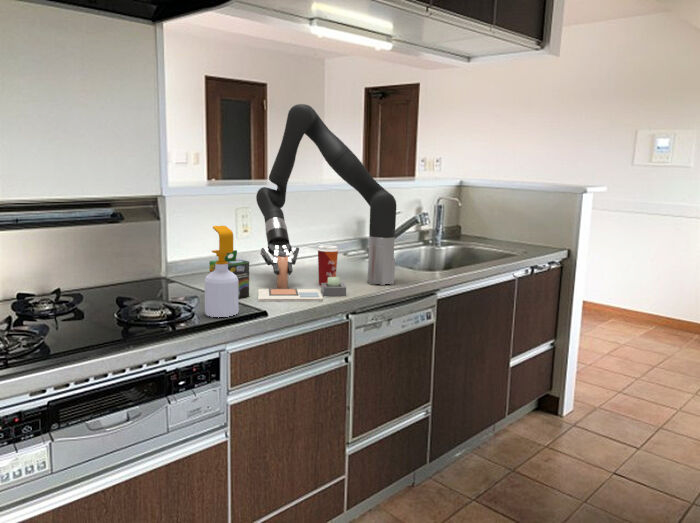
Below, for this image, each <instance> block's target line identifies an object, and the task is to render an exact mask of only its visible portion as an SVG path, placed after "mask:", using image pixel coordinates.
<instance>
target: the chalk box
mask: <svg viewBox="0 0 700 523" xmlns="http://www.w3.org/2000/svg"><path fill="white" fill-rule="evenodd" d="M229 255H232V257H229ZM237 255H238V250H236V249H235V250H234V249H233V252H232V253H227V256H225V261H228V270H229V271H231V272H232V273H234V274H235V275H236V276H237V278H238V299H243V298H248V297H250V261H249V260H243V259H239V258H237ZM216 261H218V259H214V260H210V261H209V274H210V273H211V272H213V271H214V270H215V262H216Z"/></svg>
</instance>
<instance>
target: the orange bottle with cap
mask: <svg viewBox="0 0 700 523" xmlns="http://www.w3.org/2000/svg"><path fill="white" fill-rule="evenodd" d="M277 263H278V268H279V275H276V289H289V286H288V285H289V284H288V282H289V280H288V279H289V275H288V256H286V252H285V251H280V252H279V256H277Z"/></svg>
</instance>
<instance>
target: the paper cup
mask: <svg viewBox="0 0 700 523" xmlns="http://www.w3.org/2000/svg"><path fill="white" fill-rule="evenodd" d="M316 250H317V261H318V262H317V265H318V285H321V283H328V277H337V266H338V254H339V251H340V250H339V247H338V245H333V244H331V245H329V244H323V245H318V246H317V249H316Z"/></svg>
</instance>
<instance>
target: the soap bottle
mask: <svg viewBox="0 0 700 523" xmlns="http://www.w3.org/2000/svg"><path fill="white" fill-rule="evenodd" d="M212 229H213V230H214V231H216V232H217V234H218V239H219V240H218V241H219V242H218V249H215V250H211V253H213V254H216V257H218V259H217V260H218V261H216V262H215V270H214V271H213V272H211V273H210V272H209V273H208V274H207V275H206V276H205V279H204V314H205V316H207V317H209V316H210V317H209V318H213V317H218V318H217V319H220V318H219V317H228V318H230V317H229V316H233V315H235V316H237V315H238V314H239V298H238V278H237V276H236V275H235V274H234V273H232V272H231V271H229V270H228V261H225V256H227V253H232V252H233V250H234V232H233V231H232V230H231V229H230V228H229V227H228V226H227V225H213V226H212ZM236 314H237V315H236ZM233 317H234V316H233Z"/></svg>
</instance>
